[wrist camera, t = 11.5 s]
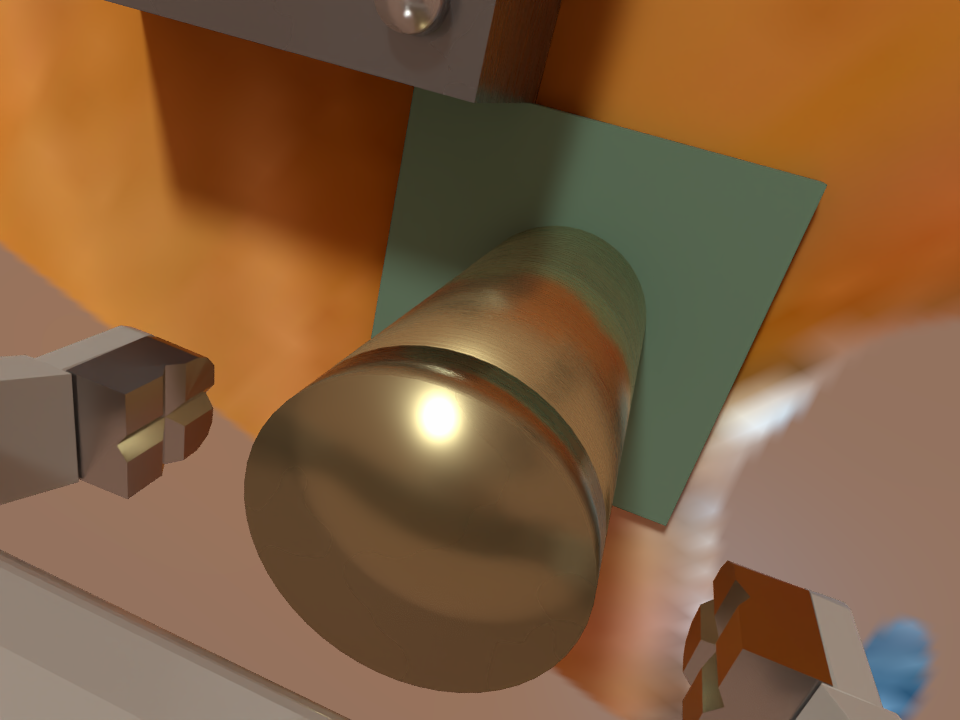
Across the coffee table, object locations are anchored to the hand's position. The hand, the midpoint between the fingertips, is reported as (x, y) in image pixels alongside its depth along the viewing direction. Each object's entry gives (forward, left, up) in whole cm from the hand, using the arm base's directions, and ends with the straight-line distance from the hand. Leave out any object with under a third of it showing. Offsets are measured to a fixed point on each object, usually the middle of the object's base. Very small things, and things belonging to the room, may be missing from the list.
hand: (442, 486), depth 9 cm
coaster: (0, 0, -9) cm, 9 cm away
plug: (0, 0, -8) cm, 8 cm away
